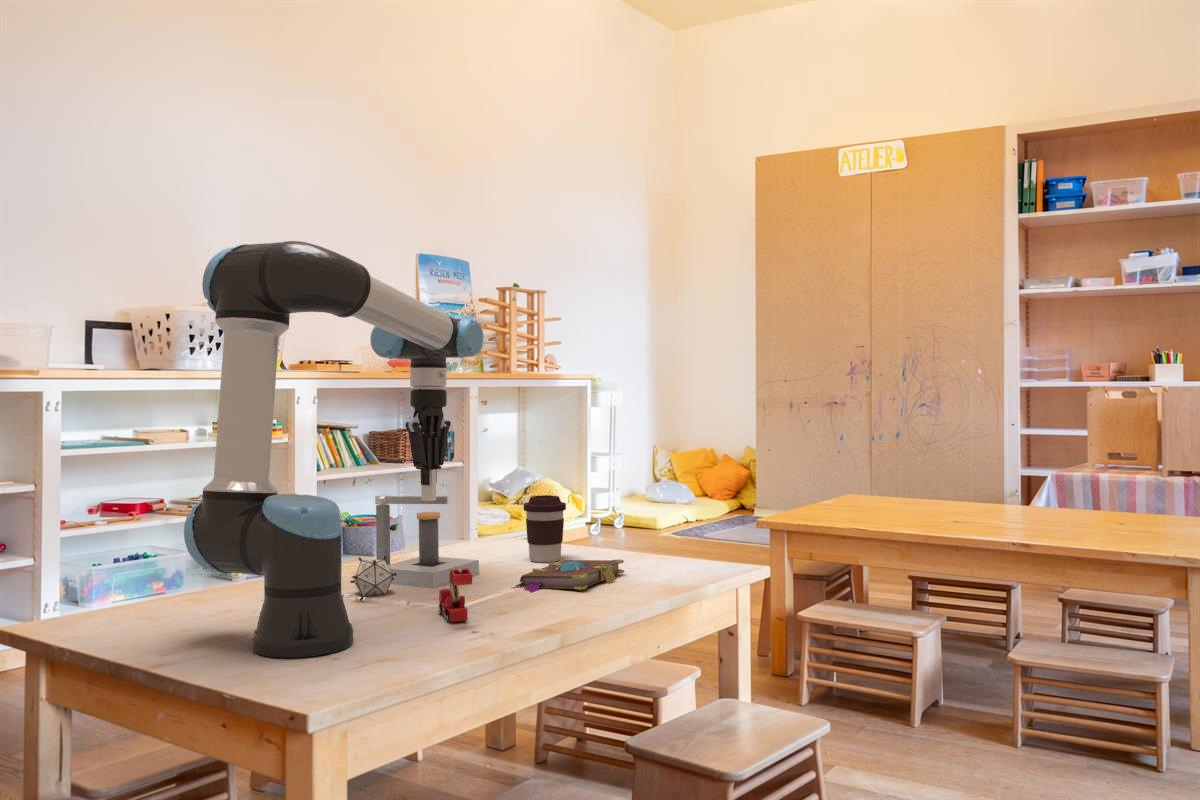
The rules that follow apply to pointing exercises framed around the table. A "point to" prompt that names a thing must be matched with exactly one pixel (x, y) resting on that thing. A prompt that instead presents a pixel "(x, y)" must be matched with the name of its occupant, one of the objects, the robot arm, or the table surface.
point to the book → (572, 574)
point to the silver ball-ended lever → (409, 500)
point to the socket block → (429, 571)
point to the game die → (373, 577)
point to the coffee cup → (544, 527)
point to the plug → (428, 538)
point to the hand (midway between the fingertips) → (428, 500)
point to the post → (383, 532)
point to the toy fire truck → (454, 596)
